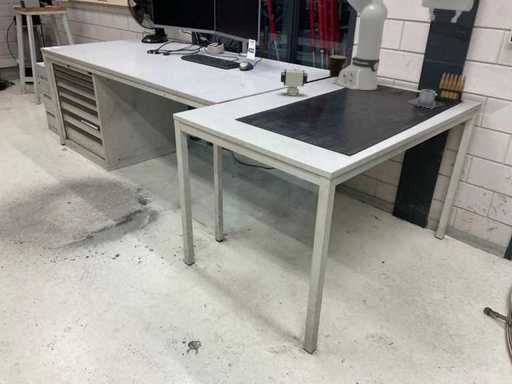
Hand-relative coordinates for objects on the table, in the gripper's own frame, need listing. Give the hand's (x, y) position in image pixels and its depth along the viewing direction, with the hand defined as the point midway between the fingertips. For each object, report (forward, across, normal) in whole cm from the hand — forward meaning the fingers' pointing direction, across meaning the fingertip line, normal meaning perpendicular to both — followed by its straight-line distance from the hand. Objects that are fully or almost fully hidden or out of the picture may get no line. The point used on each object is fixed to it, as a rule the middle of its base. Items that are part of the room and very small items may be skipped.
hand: (442, 21), depth 173 cm
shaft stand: (+34, +3, -4) cm, 34 cm away
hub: (+33, +3, -4) cm, 34 cm away
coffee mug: (+34, -56, +5) cm, 66 cm away
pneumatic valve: (+34, -42, -43) cm, 69 cm away
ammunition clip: (+34, +6, +12) cm, 37 cm away
